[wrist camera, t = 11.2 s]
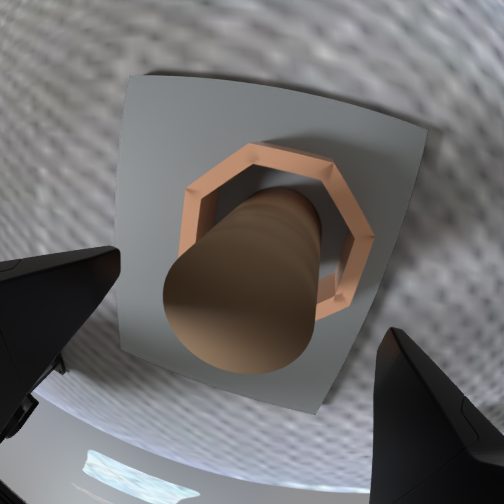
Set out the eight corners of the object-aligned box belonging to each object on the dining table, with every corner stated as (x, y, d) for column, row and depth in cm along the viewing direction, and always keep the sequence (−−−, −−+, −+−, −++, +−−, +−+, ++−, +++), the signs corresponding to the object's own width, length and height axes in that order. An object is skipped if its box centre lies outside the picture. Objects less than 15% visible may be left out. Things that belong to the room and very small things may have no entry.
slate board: (316, 405, 21) (315, 414, 20) (127, 342, 23) (120, 349, 22) (422, 130, 13) (428, 130, 12) (138, 77, 15) (128, 75, 14)
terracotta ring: (333, 318, 17) (332, 345, 14) (193, 278, 18) (174, 299, 16) (381, 172, 13) (392, 180, 11) (213, 132, 14) (193, 133, 12)
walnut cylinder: (308, 278, 16) (290, 389, 9) (230, 256, 17) (161, 347, 10) (331, 199, 14) (337, 267, 7) (244, 177, 15) (167, 222, 8)
